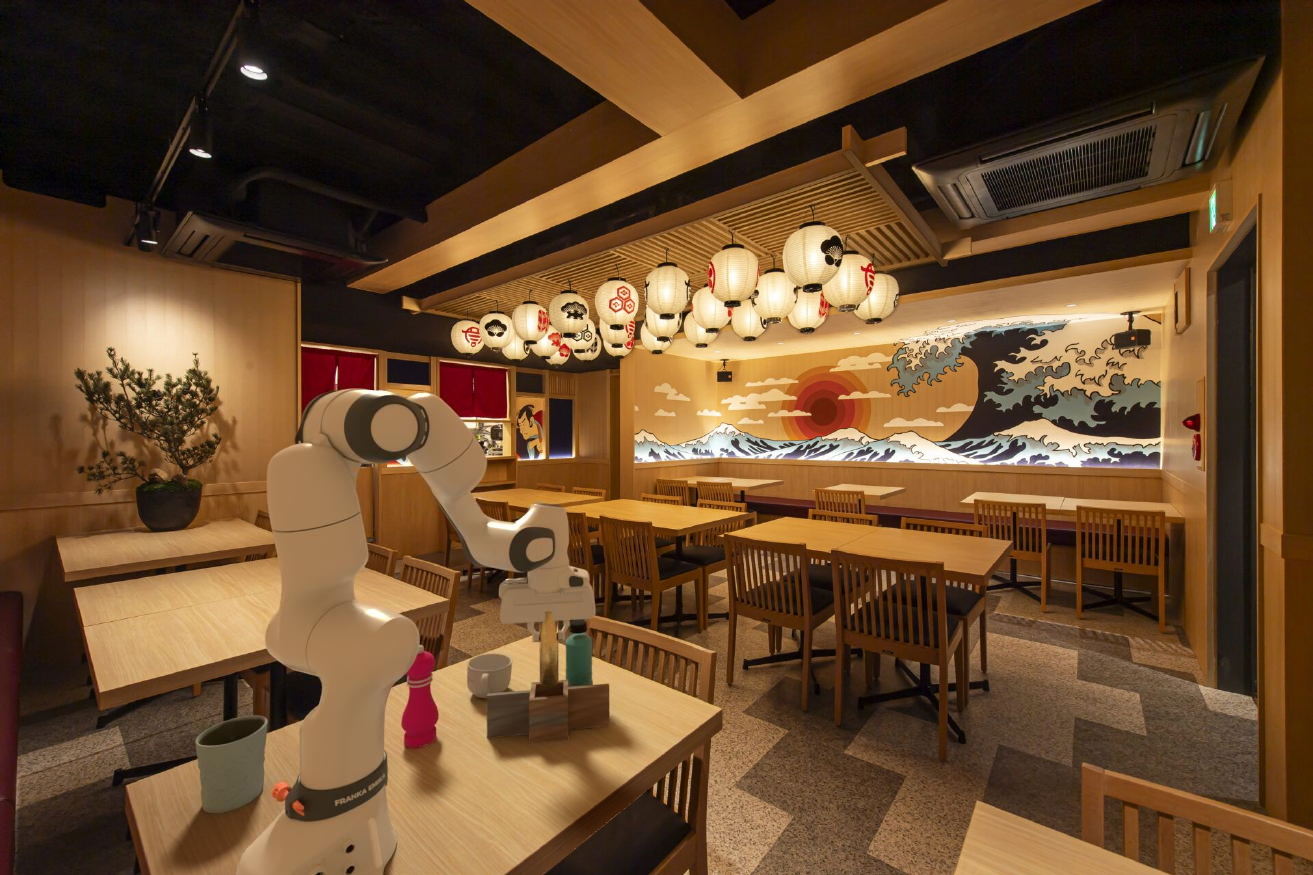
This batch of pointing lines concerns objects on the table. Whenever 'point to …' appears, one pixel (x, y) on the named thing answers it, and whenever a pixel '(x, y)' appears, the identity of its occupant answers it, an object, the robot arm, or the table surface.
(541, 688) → the brown winged open box
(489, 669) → the teacup
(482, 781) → the table surface
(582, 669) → the beverage bottle
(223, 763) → the green oval vase
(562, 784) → the table surface
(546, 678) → the brass pin
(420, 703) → the pepper mill
